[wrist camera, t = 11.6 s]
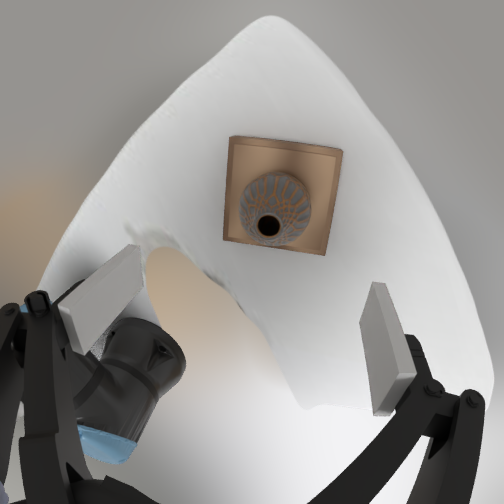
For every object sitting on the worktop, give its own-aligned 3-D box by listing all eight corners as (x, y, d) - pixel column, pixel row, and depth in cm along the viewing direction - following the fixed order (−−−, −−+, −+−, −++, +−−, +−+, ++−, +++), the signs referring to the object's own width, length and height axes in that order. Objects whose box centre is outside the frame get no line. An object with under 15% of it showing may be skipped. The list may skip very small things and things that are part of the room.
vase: (234, 188, 32) (210, 211, 24) (289, 155, 30) (282, 167, 22) (268, 239, 34) (255, 278, 26) (322, 210, 32) (327, 242, 24)
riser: (228, 232, 38) (221, 241, 35) (234, 135, 33) (228, 137, 30) (324, 246, 36) (325, 257, 34) (340, 149, 31) (343, 151, 29)
